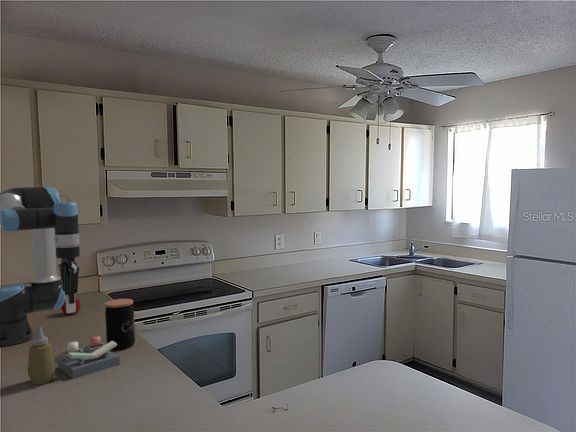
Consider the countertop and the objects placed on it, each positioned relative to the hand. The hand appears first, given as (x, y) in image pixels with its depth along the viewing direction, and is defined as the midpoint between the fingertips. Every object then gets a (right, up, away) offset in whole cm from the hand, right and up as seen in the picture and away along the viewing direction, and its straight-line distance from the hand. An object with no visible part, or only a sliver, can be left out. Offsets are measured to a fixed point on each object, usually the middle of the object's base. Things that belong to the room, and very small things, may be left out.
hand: (71, 312), depth 155 cm
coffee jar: (+10, -19, +22) cm, 30 cm away
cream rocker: (+11, -15, +2) cm, 18 cm away
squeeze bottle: (-4, -21, -10) cm, 24 cm away
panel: (+6, -20, +2) cm, 20 cm away
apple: (-34, -16, +70) cm, 79 cm away
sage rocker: (+5, -15, -4) cm, 16 cm away
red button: (+6, -14, +7) cm, 17 cm away
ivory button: (0, -15, +1) cm, 15 cm away
